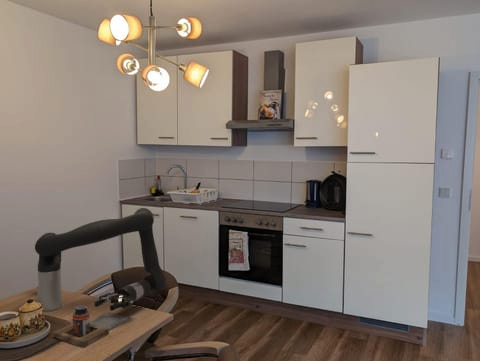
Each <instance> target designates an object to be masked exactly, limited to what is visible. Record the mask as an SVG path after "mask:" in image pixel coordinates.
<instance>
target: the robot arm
mask: <svg viewBox="0 0 480 361" xmlns="http://www.w3.org/2000/svg"><path fill="white" fill-rule="evenodd" d="M154 222H155V219H154V214H153V212H152V211H151V210H150V209H149V208H146V207H140V208H138V209H137V210H135V212H134V213H133V214H131V215H127V216H125V217H121V218H109V219H108V218H107V219H101V220H95V221H93V222H89V223H86V224H84V225H81V226H79V227H76V228H73V229H72V230H69V231H67V232H63V233H59V234H57V233H54V232H46V233H44V234H42V235H41V236H40V237H39V238H38V239H37V240H36V242H35V244H34V250H35V252H36V253H37V255H38V261H37V281H38V282H37V283H38V284H37V286H36V291H37V294H36V295H37V303H38V302H39V303H42V304H43V312H48V311H49V312H51V311H55V310H58V309H60V308H61V307H62V305H63V303H62V302H63V301H62V300H63V299H62V270H61V268H62V266H61V264H62V252H64V251H67V250H70V249H74V248H78V247H82V246H84V247H85V246H86V245H87V246H88V245H92V244H97V243H99V242H104V241H107V240H110V239H114V238H117V237H119V236H122V235H125V234H130V233H136V232H138V235H139V238H140V239H139V240H140V245H141V246H140V247H141V256H142V261H143V268H144V271H145V272H147V273H148V274H149V275H145V276H144V277H143V278H142V279H141V280H138V281H136V282H134V283H130V284H128V285H126V286H123V287H122V288H119V290H118V291H117V292H116V293H113V294H112V293H111V292H107V293H105V294H102V295H100V296H99V295H98V296H99V297H98V299H97V300H96V301H94V307H95V308H98V307H101V306H102V305H105V304H107V305H110V306H109V311H110V312H113V311H116V310H117V309H121V308H122V309H127V308H129V307H131V306H132V305H133V304H134V302H136V301H139V299H141V298H143V297H145V296H147V295H148V294H150V292H151V291H157V292H158V291H163V290H164V289H165V288H166V282H167V281H166V277H165V274H164V273H163V270H162V268H161V266H160V260H159V255H158V251H157V250H158V249H157V246H156V243H155V237H154V231H153V224H154Z"/></svg>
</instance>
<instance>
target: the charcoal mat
mask: <svg viewBox="0 0 480 361" xmlns="http://www.w3.org/2000/svg"><path fill="white" fill-rule="evenodd" d="M129 320H131V317H127V316H123V315H120V314H116V313H113V312H107V313H105V314H103V315H101V316H98V317H97V318H95V319H92V320H91V321H90V324H93V325H97V326H100V327H104V328H108V329H109V331H111V330H113V329H114V328H116V327H118V326H120V325H121V324H124V323H126V322H127V321H129Z"/></svg>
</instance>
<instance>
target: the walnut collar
mask: <svg viewBox="0 0 480 361" xmlns="http://www.w3.org/2000/svg"><path fill="white" fill-rule="evenodd" d="M52 334H53V337H54V336H55V337H58V338H60V340H59V341H63V342H66V343H68V344H72V345H76V346H78V347H81V348H86V347H88V346H89V345H91V344H93V343H95V342H96V341H98V340H101V339H102V338H104V337H106V336H108V335H109V334H110V330H109V329H108V328H104V327H100V326H97V325H93V324H90V333H89V334H87V335H85V336H83V337H81V338H79V337H76V336H73V323H71V324H68V325H67V326H64V327H62V328H59V329H58V330H55V331H54V332H53V333H52Z"/></svg>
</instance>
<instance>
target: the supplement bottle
mask: <svg viewBox="0 0 480 361" xmlns="http://www.w3.org/2000/svg"><path fill="white" fill-rule="evenodd" d="M90 318H91V317H90V311H89V310H87V306H86V305H83V304H81V305H77V306H75V310H74V313H72V324H73V334H72V335H73V336H76V337H79V338H81V337H83V336H85V335H87V334H89V333H91V331H90Z"/></svg>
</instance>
